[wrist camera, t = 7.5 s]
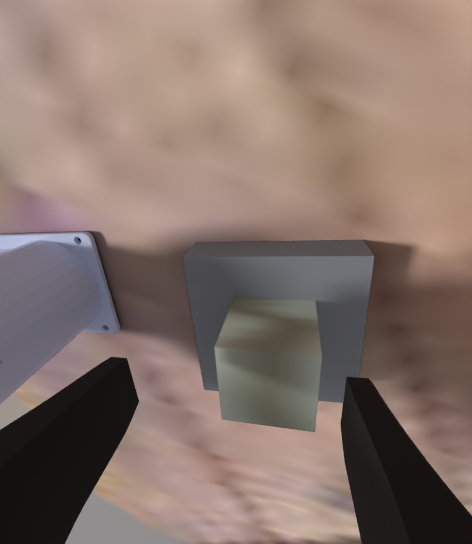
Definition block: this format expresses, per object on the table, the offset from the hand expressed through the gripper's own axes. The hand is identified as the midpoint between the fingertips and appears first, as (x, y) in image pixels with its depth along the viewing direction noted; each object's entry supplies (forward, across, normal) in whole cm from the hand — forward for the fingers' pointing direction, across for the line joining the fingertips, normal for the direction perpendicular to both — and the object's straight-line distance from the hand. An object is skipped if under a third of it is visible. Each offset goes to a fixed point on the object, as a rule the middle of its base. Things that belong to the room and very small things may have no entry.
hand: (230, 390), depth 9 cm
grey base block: (+10, -1, +3) cm, 11 cm away
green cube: (+7, -1, +3) cm, 8 cm away
